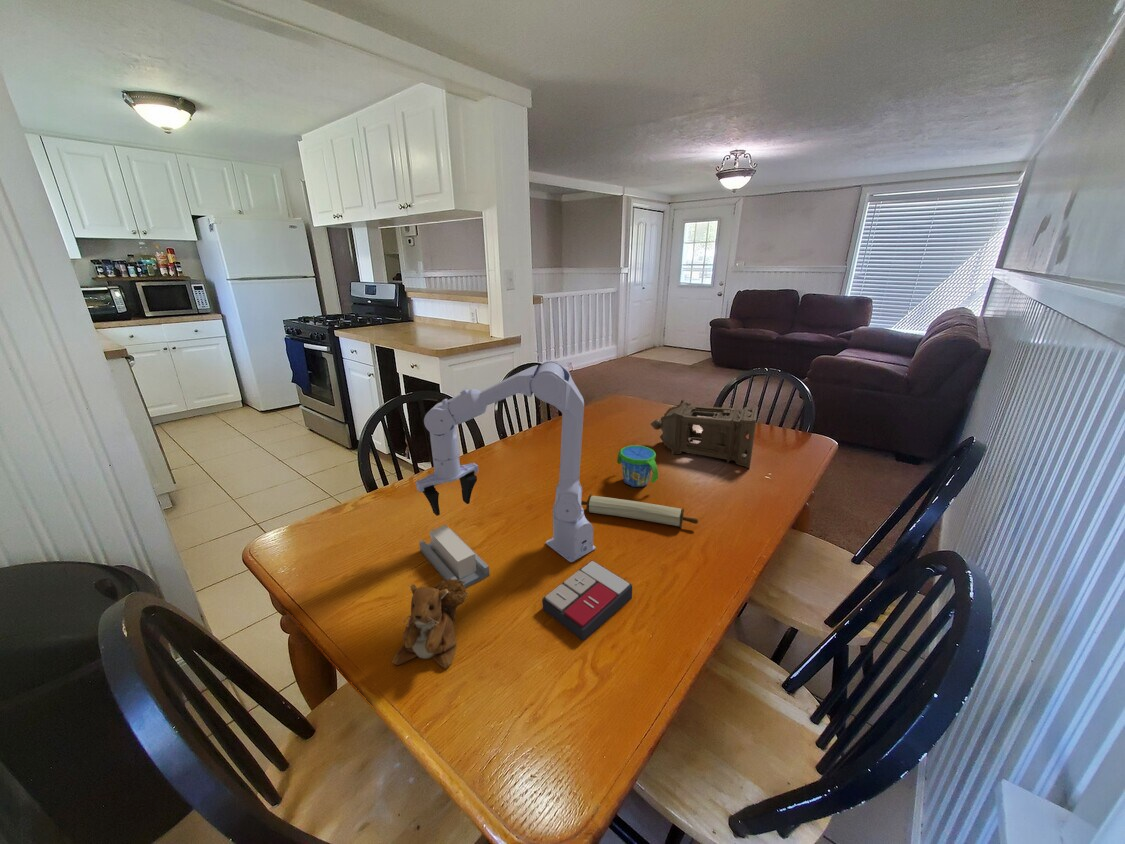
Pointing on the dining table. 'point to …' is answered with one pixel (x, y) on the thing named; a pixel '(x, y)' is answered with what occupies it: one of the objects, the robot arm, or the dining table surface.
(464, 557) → the white rectangular block
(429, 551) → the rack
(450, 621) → the stuffed squirrel
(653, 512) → the rolling pin
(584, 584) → the calculator
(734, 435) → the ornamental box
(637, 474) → the snack cup
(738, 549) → the dining table surface
